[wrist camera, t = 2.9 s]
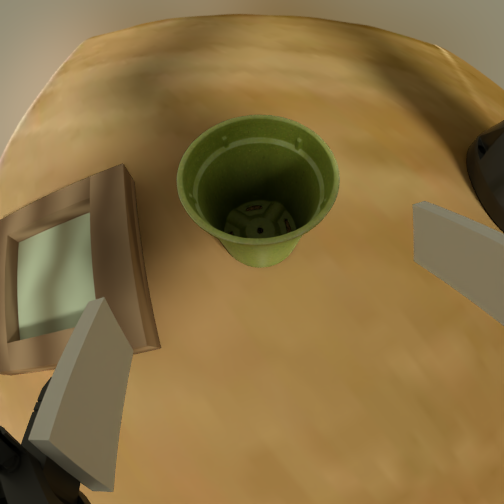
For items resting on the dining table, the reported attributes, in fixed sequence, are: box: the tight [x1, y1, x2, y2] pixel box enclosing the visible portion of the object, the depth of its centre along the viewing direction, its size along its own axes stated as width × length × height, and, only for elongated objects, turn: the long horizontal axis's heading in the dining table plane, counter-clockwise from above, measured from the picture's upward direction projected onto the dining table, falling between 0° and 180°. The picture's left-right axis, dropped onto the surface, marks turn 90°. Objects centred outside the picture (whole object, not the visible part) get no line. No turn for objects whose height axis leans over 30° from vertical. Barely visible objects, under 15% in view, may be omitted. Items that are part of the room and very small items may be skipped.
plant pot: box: [177, 115, 340, 267], centre depth 21 cm, size 9×9×9 cm
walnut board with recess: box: [0, 164, 161, 375], centre depth 22 cm, size 18×16×3 cm
